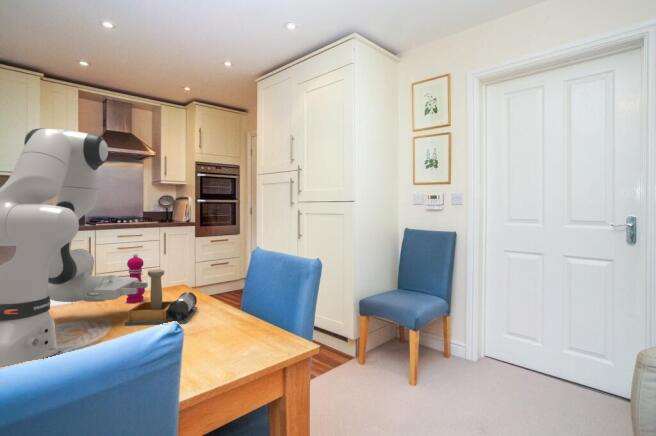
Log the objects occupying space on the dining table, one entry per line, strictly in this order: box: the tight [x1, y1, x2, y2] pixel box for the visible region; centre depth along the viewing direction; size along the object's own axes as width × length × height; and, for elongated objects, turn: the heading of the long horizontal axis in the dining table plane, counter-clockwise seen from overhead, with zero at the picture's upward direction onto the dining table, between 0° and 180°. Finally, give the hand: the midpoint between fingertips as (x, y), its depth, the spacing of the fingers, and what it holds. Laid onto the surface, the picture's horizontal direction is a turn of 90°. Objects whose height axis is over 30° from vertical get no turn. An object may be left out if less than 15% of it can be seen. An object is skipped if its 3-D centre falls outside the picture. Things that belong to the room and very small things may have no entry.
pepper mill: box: [125, 253, 146, 304], centre depth 145 cm, size 7×7×20 cm
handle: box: [147, 269, 165, 310], centre depth 127 cm, size 5×6×15 cm
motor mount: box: [124, 291, 198, 327], centre depth 124 cm, size 18×19×7 cm
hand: (142, 287), depth 123 cm, fingers open, 8 cm apart
